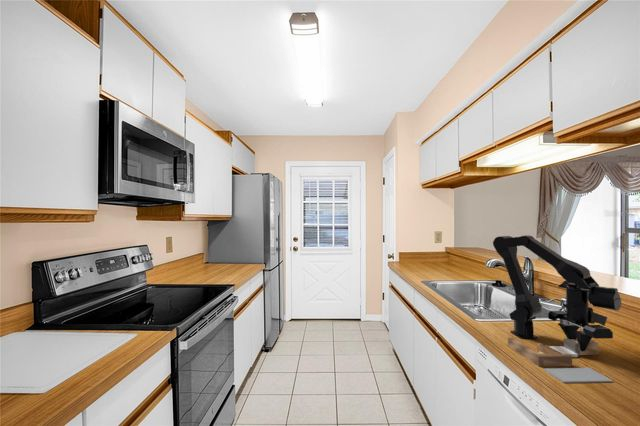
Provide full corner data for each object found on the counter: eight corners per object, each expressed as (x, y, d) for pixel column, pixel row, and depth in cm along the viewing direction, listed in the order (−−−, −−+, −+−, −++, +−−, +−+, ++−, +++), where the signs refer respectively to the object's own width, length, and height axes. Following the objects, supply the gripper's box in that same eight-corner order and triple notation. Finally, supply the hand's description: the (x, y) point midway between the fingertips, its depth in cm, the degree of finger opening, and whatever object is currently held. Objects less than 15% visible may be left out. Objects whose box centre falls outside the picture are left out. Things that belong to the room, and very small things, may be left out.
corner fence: (508, 345, 106) (507, 337, 106) (537, 345, 106) (536, 337, 106) (538, 366, 91) (538, 356, 91) (572, 365, 91) (572, 356, 91)
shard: (539, 346, 106) (539, 341, 106) (566, 352, 101) (566, 347, 101) (534, 356, 98) (534, 351, 98) (564, 364, 93) (564, 358, 93)
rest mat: (543, 369, 89) (543, 368, 89) (589, 369, 89) (589, 367, 89) (563, 382, 82) (563, 381, 82) (612, 381, 82) (612, 380, 82)
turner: (586, 348, 103) (585, 337, 103) (603, 356, 97) (602, 344, 97) (549, 349, 103) (549, 337, 103) (564, 357, 97) (563, 345, 97)
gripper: (629, 311, 91) (631, 361, 91) (576, 295, 109) (577, 337, 109) (594, 311, 91) (595, 362, 90) (546, 295, 109) (547, 337, 109)
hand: (578, 348), depth 100 cm, fingers closed on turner, 3 cm apart
